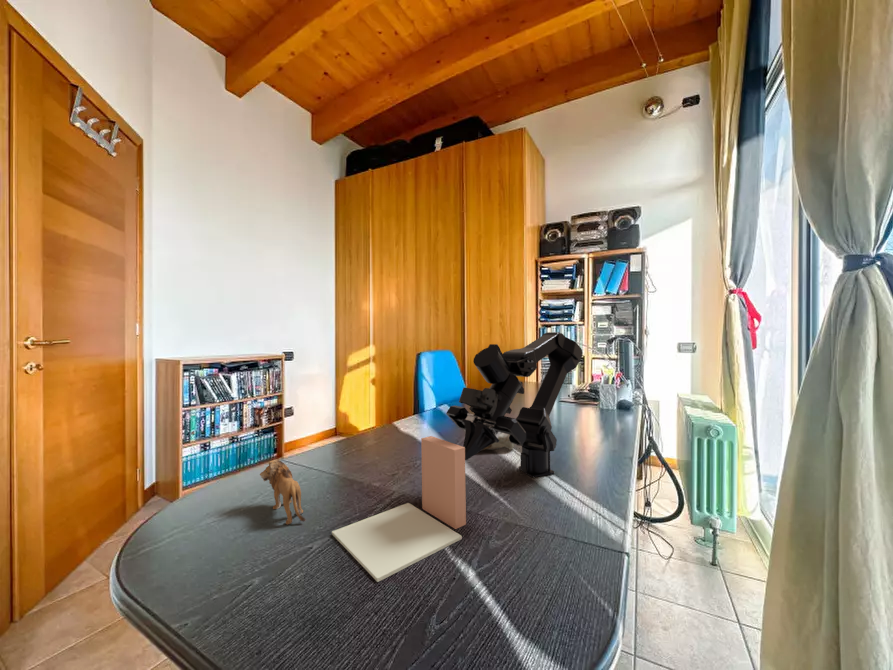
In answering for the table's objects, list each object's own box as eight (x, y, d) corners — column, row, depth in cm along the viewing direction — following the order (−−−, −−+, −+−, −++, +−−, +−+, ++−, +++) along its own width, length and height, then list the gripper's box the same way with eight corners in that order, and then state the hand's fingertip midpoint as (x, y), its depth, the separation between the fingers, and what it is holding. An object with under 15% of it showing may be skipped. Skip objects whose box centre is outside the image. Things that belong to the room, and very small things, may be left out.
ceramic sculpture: (519, 424, 102) (466, 426, 104) (521, 454, 102) (469, 456, 104) (516, 416, 112) (469, 418, 114) (518, 443, 112) (471, 445, 114)
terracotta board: (432, 504, 73) (431, 436, 73) (465, 524, 65) (464, 447, 65) (422, 508, 71) (421, 438, 71) (455, 529, 63) (454, 450, 63)
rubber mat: (408, 505, 73) (408, 502, 73) (461, 538, 60) (461, 535, 60) (331, 534, 62) (331, 531, 62) (377, 582, 50) (377, 578, 50)
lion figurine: (257, 505, 73) (257, 461, 73) (283, 496, 78) (283, 454, 78) (291, 529, 64) (291, 479, 64) (319, 518, 68) (318, 470, 68)
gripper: (451, 370, 82) (412, 426, 75) (516, 376, 68) (475, 447, 61) (476, 400, 87) (442, 455, 80) (541, 412, 73) (506, 480, 66)
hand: (463, 458), depth 72 cm, fingers closed
